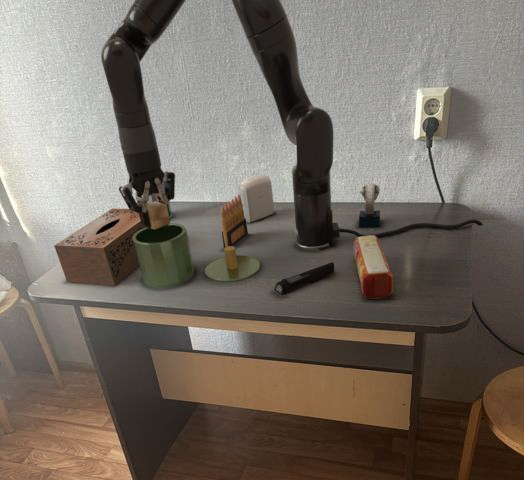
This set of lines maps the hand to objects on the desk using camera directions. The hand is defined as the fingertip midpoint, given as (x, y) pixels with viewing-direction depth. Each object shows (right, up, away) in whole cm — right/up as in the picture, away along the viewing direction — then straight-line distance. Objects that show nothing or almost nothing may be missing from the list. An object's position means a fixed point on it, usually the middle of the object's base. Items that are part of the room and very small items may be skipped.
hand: (156, 223), depth 119 cm
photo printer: (+24, +11, +36) cm, 44 cm away
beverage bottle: (-8, +13, +45) cm, 47 cm away
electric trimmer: (+34, -15, -2) cm, 37 cm away
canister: (+1, -11, +8) cm, 14 cm away
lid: (+17, -10, +7) cm, 21 cm away
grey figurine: (+54, +5, +23) cm, 59 cm away
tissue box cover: (-14, -6, +19) cm, 25 cm away
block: (0, 0, 0) cm, 0 cm away
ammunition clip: (+17, 0, +22) cm, 28 cm away
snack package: (+49, -13, -3) cm, 51 cm away
